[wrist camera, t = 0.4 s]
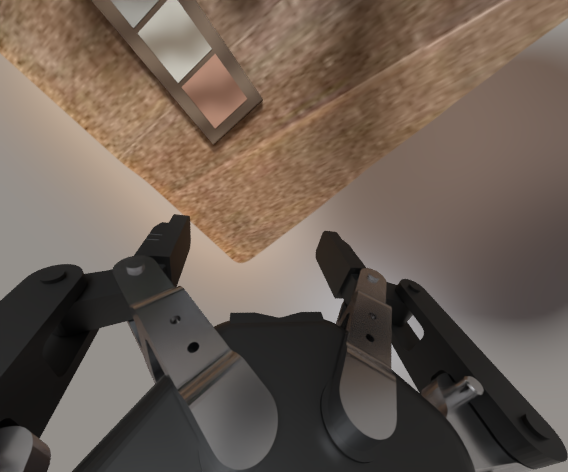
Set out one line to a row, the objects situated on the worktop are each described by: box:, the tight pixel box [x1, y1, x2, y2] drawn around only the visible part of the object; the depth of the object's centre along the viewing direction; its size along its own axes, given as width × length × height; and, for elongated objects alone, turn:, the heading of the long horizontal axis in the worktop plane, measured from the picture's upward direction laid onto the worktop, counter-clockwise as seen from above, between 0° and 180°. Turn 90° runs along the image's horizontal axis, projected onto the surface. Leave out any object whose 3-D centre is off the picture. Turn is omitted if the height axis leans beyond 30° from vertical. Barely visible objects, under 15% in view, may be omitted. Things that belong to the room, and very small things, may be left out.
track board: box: [91, 0, 263, 144], centre depth 25 cm, size 30×10×1 cm, turn 38°
